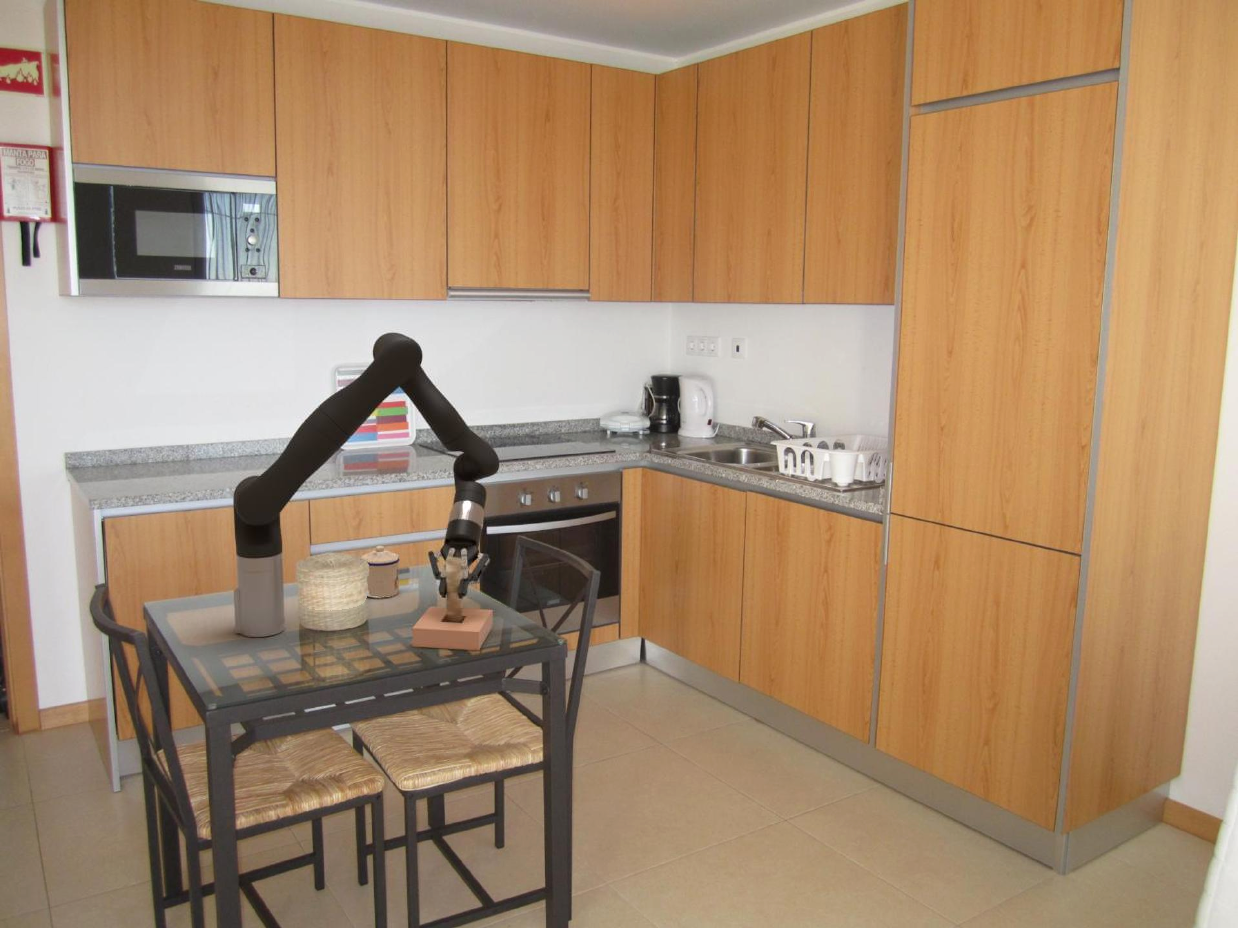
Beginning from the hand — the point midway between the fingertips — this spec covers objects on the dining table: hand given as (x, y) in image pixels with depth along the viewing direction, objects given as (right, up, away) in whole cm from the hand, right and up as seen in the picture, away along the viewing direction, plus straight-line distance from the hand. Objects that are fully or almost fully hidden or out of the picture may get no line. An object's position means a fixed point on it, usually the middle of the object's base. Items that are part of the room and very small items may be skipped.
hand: (451, 596), depth 214 cm
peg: (0, -6, +3) cm, 7 cm away
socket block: (0, -9, +4) cm, 10 cm away
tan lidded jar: (-23, -3, +32) cm, 40 cm away
